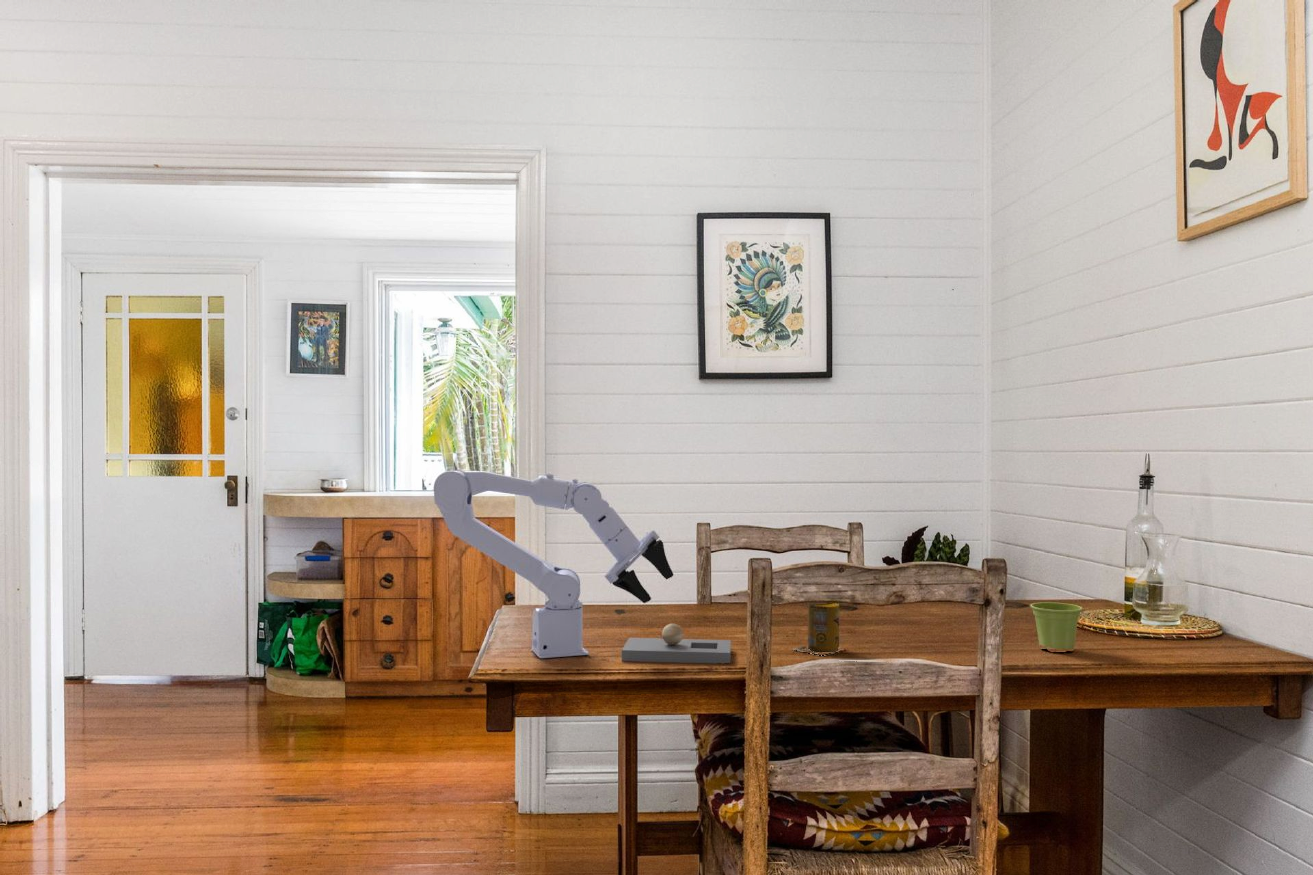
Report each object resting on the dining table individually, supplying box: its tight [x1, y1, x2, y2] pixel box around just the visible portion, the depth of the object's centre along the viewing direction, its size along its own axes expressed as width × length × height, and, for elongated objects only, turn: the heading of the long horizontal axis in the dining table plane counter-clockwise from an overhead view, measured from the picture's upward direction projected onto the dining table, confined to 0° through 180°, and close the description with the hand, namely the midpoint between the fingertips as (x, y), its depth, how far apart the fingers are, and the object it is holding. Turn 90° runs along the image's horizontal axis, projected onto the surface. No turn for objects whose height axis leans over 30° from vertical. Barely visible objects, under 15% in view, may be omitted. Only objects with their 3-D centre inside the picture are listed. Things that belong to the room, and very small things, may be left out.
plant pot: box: [1029, 601, 1083, 649], centre depth 177 cm, size 9×9×9 cm
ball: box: [661, 623, 684, 645], centre depth 171 cm, size 4×4×4 cm
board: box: [621, 637, 732, 665], centre depth 171 cm, size 20×11×2 cm, turn 85°
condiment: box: [792, 603, 840, 657], centre depth 176 cm, size 7×8×12 cm
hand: (659, 588), depth 175 cm, fingers open, 7 cm apart
